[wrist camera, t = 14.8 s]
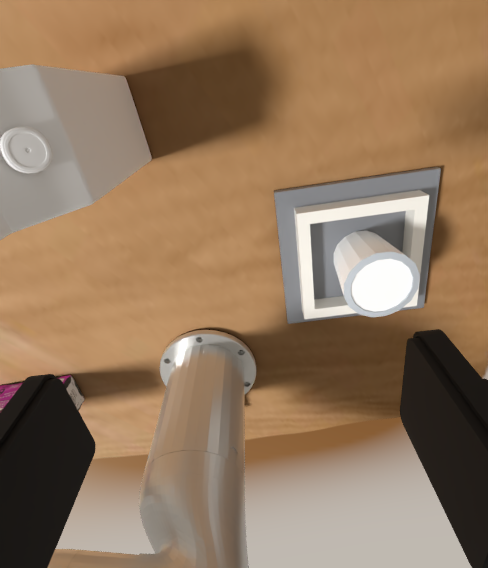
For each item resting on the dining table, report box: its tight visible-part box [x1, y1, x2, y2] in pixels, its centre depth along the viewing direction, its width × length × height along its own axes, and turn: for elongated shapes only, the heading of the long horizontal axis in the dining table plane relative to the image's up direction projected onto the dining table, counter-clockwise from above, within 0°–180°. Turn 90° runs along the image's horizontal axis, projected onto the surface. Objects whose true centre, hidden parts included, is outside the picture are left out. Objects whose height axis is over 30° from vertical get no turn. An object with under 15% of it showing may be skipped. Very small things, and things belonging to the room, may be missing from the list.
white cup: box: [334, 230, 420, 317], centre depth 35 cm, size 7×7×7 cm
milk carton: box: [0, 65, 152, 240], centre depth 24 cm, size 7×7×19 cm
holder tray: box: [274, 167, 441, 324], centre depth 37 cm, size 16×16×3 cm
